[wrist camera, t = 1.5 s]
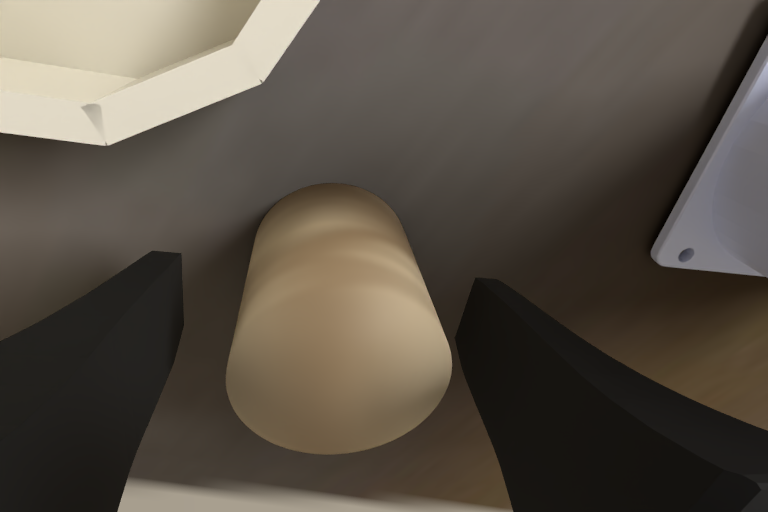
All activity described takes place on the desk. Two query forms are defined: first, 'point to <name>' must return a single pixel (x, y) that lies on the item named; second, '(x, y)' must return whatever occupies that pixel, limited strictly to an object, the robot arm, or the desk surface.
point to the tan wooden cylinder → (335, 327)
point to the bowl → (132, 61)
